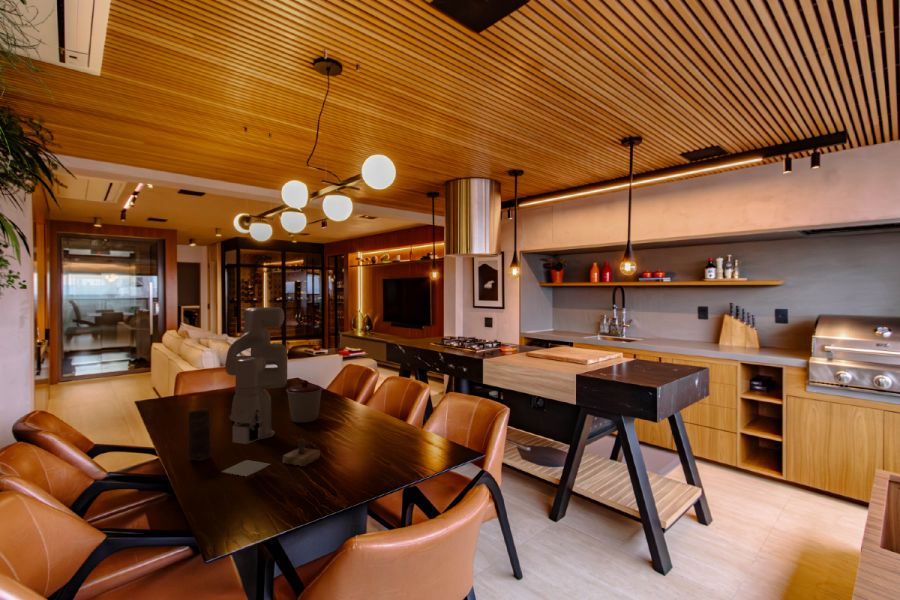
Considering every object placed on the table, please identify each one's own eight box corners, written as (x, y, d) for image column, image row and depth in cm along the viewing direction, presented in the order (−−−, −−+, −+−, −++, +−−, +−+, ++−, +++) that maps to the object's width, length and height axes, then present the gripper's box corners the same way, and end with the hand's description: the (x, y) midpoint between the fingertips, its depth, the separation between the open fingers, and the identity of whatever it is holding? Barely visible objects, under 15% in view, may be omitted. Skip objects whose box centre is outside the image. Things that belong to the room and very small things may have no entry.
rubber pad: (221, 472, 159) (221, 471, 159) (246, 460, 171) (246, 459, 171) (246, 477, 155) (246, 476, 155) (270, 465, 167) (270, 463, 167)
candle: (187, 464, 167) (187, 412, 167) (189, 457, 174) (189, 408, 174) (210, 460, 171) (210, 410, 171) (210, 454, 177) (210, 406, 177)
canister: (308, 413, 239) (308, 375, 239) (329, 419, 229) (329, 379, 228) (279, 421, 224) (279, 381, 224) (300, 427, 214) (300, 385, 214)
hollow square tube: (232, 442, 161) (232, 426, 161) (246, 436, 167) (246, 421, 167) (246, 444, 158) (246, 427, 158) (259, 438, 165) (259, 422, 165)
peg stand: (282, 463, 168) (282, 442, 168) (299, 454, 178) (299, 435, 178) (303, 466, 165) (303, 445, 165) (320, 457, 174) (320, 437, 174)
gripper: (220, 391, 162) (220, 439, 162) (257, 395, 156) (257, 444, 156) (236, 388, 169) (236, 433, 169) (272, 391, 163) (272, 438, 163)
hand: (246, 438), depth 163 cm, fingers closed on hollow square tube, 6 cm apart
